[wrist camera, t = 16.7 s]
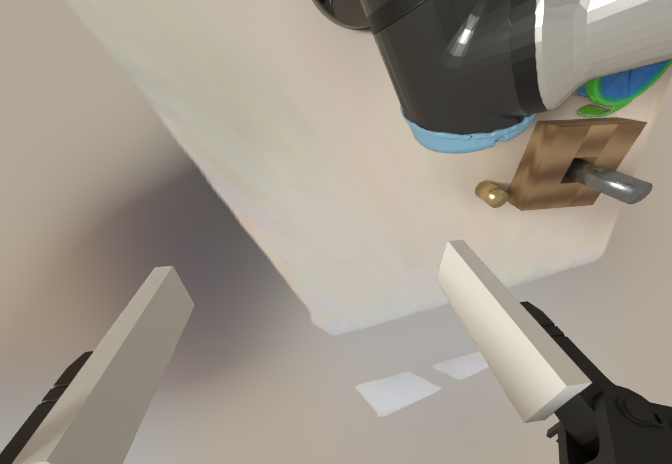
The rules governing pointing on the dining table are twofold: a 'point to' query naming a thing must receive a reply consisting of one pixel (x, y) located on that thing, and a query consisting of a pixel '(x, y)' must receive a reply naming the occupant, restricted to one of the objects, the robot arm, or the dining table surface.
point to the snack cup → (619, 88)
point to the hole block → (568, 160)
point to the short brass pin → (491, 194)
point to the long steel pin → (608, 181)
